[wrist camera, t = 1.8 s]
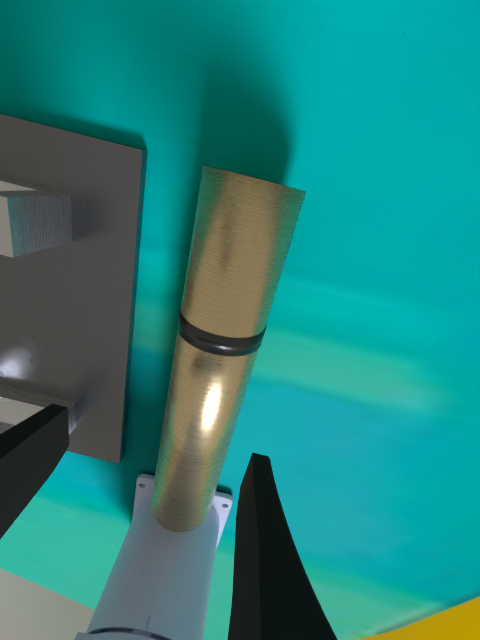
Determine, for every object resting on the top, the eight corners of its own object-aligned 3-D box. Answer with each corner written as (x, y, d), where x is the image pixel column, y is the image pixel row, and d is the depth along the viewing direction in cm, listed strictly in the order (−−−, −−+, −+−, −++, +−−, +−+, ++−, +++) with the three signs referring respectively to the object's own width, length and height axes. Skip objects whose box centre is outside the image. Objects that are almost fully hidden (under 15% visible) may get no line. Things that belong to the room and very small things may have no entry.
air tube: (203, 467, 24) (219, 523, 21) (147, 477, 23) (153, 541, 19) (276, 184, 15) (328, 197, 11) (191, 162, 13) (220, 168, 10)
